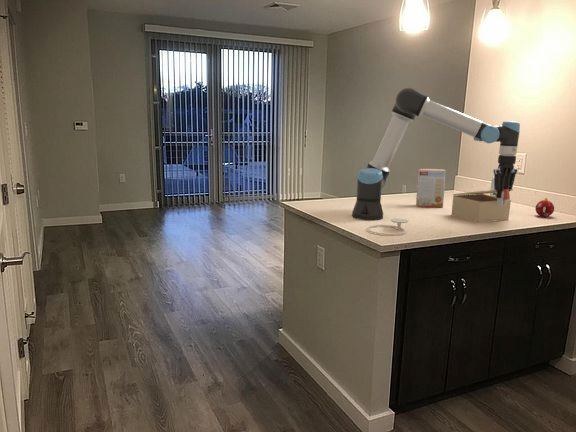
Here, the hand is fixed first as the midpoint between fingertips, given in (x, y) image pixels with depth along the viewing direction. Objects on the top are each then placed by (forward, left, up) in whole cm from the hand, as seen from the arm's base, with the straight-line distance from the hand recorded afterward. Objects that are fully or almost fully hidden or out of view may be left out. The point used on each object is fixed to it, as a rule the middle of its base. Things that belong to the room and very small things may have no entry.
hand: (501, 204), depth 227 cm
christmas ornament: (+35, +3, -9) cm, 36 cm away
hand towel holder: (-61, +4, -10) cm, 62 cm away
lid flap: (0, +8, 0) cm, 8 cm away
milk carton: (+25, +24, -9) cm, 36 cm away
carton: (0, +12, -9) cm, 15 cm away
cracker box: (-6, +43, -9) cm, 45 cm away
